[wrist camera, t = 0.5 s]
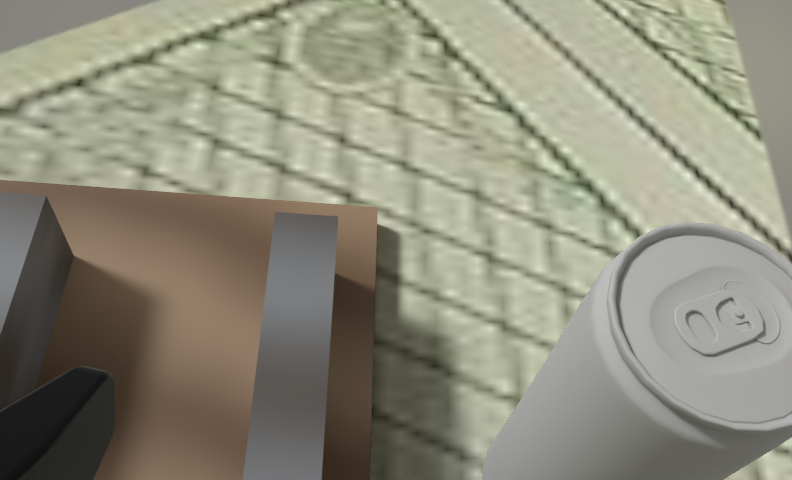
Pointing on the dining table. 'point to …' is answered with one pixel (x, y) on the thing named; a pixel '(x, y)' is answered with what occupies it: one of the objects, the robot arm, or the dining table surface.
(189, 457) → the vise
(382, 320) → the dining table surface
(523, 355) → the dining table surface
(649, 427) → the beverage can
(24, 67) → the dining table surface
